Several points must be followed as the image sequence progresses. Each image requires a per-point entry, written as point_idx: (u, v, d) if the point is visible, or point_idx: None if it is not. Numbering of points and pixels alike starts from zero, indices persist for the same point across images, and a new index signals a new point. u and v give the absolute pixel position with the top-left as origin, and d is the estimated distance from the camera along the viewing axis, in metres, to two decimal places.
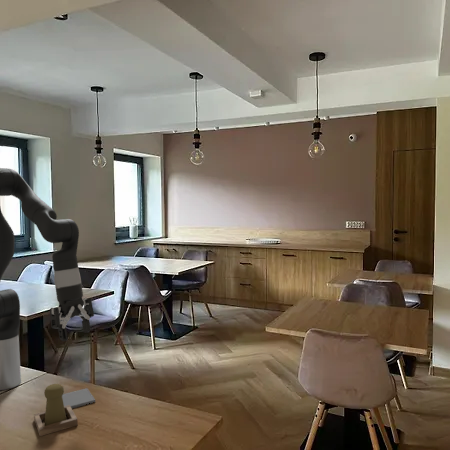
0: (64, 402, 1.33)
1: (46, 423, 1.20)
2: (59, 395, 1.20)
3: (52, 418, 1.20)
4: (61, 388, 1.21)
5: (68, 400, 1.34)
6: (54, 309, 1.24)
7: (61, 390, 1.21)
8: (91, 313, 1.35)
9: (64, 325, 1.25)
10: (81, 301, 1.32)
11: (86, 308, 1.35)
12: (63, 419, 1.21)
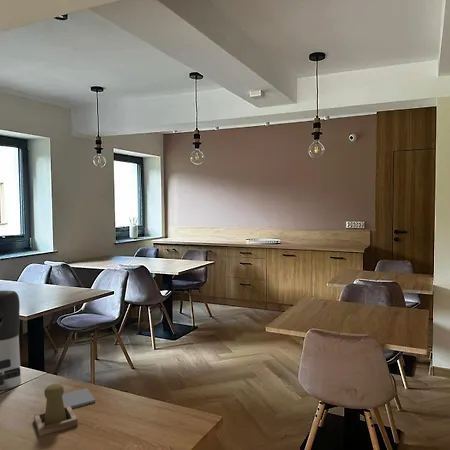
0: (64, 402, 1.33)
1: (46, 423, 1.20)
2: (59, 395, 1.20)
3: (52, 418, 1.20)
4: (61, 388, 1.21)
5: (68, 400, 1.34)
6: None
7: (61, 390, 1.21)
8: None
9: None
10: None
11: None
12: (63, 419, 1.21)
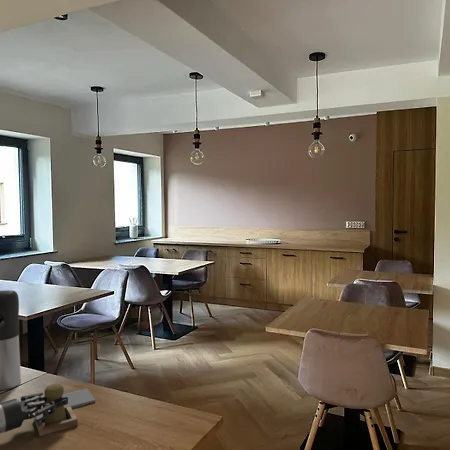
0: None
1: (46, 423, 1.20)
2: (59, 395, 1.20)
3: (52, 418, 1.20)
4: (61, 388, 1.21)
5: (68, 400, 1.34)
6: None
7: (61, 390, 1.21)
8: None
9: None
10: None
11: None
12: (63, 419, 1.21)
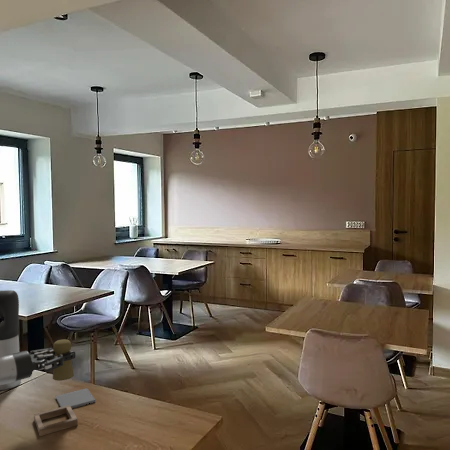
0: (64, 402, 1.33)
1: (54, 376, 1.26)
2: (67, 349, 1.26)
3: (60, 371, 1.25)
4: (69, 343, 1.27)
5: (68, 400, 1.34)
6: None
7: (69, 345, 1.27)
8: None
9: None
10: None
11: None
12: (70, 372, 1.27)
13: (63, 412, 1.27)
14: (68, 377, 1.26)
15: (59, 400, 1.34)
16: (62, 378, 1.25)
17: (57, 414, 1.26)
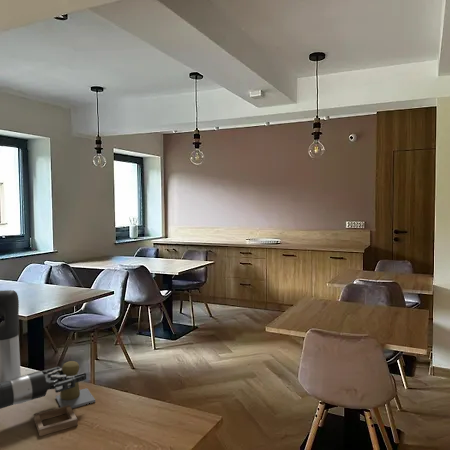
0: (64, 402, 1.33)
1: (62, 395, 1.35)
2: (75, 372, 1.34)
3: (68, 391, 1.34)
4: (77, 366, 1.35)
5: (68, 400, 1.34)
6: None
7: (77, 368, 1.35)
8: None
9: None
10: None
11: None
12: (77, 392, 1.36)
13: (63, 412, 1.27)
14: (75, 397, 1.35)
15: (59, 400, 1.34)
16: (69, 398, 1.34)
17: (57, 414, 1.26)
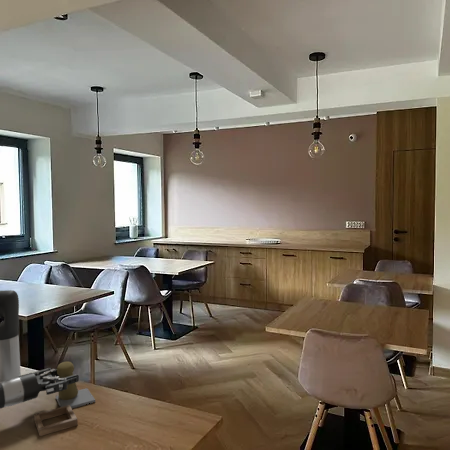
0: (64, 402, 1.33)
1: (60, 395, 1.35)
2: (70, 373, 1.34)
3: (65, 392, 1.34)
4: (71, 366, 1.34)
5: (68, 400, 1.34)
6: None
7: (71, 368, 1.34)
8: None
9: None
10: None
11: None
12: (75, 391, 1.36)
13: (63, 412, 1.27)
14: (73, 396, 1.35)
15: (59, 400, 1.34)
16: (67, 398, 1.34)
17: (57, 414, 1.26)
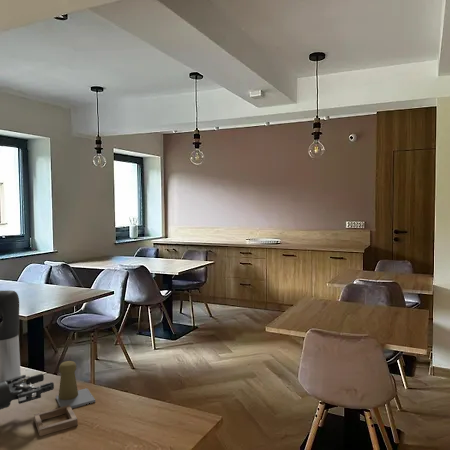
0: (64, 402, 1.33)
1: (60, 395, 1.35)
2: (72, 371, 1.35)
3: (66, 391, 1.35)
4: (74, 365, 1.36)
5: (68, 400, 1.34)
6: None
7: (74, 366, 1.36)
8: None
9: None
10: None
11: None
12: (75, 392, 1.36)
13: (63, 412, 1.27)
14: (73, 396, 1.36)
15: (59, 400, 1.34)
16: (67, 398, 1.35)
17: (57, 414, 1.26)
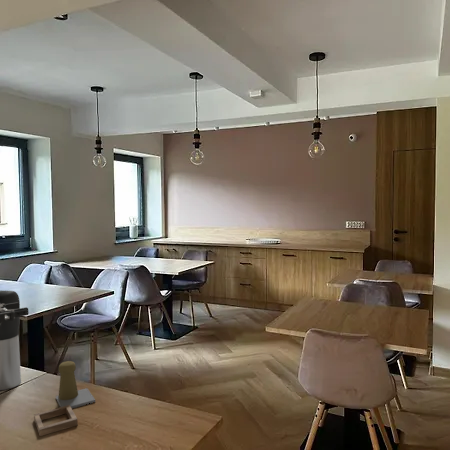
0: (64, 402, 1.33)
1: (60, 395, 1.35)
2: (72, 371, 1.35)
3: (66, 391, 1.35)
4: (73, 364, 1.36)
5: (68, 400, 1.34)
6: None
7: (73, 366, 1.36)
8: None
9: None
10: None
11: None
12: (75, 392, 1.36)
13: (63, 412, 1.27)
14: (73, 396, 1.36)
15: (59, 400, 1.34)
16: (67, 398, 1.35)
17: (57, 414, 1.26)
